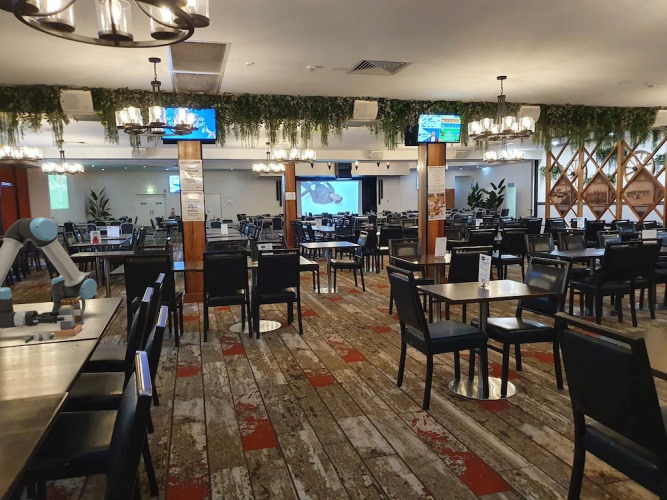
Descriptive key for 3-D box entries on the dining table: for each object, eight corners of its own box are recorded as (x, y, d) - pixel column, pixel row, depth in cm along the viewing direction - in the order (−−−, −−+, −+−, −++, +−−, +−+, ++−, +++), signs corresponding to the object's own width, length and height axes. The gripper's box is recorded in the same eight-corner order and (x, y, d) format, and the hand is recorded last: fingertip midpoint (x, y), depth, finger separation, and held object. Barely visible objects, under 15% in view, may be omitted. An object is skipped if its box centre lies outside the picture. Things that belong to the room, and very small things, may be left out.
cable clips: (38, 338, 233) (38, 333, 232) (51, 337, 233) (50, 332, 233) (34, 340, 228) (34, 335, 228) (47, 339, 229) (46, 334, 229)
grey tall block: (65, 331, 241) (62, 305, 239) (75, 330, 241) (73, 304, 240) (61, 333, 236) (58, 307, 234) (72, 333, 237) (69, 307, 235)
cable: (31, 338, 233) (31, 335, 232) (55, 336, 234) (55, 333, 234) (24, 343, 225) (24, 340, 225) (49, 341, 227) (48, 338, 227)
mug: (74, 330, 249) (71, 301, 247) (56, 329, 251) (53, 301, 250) (94, 322, 264) (92, 295, 263) (78, 321, 267) (75, 295, 265)
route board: (34, 334, 245) (34, 331, 244) (85, 330, 248) (84, 327, 248) (17, 345, 227) (17, 342, 227) (72, 340, 231) (72, 338, 231)
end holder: (63, 331, 243) (62, 325, 243) (82, 330, 244) (81, 324, 244) (55, 337, 233) (54, 331, 233) (75, 335, 235) (74, 329, 234)
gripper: (38, 320, 246) (84, 316, 250) (16, 332, 224) (68, 328, 228) (36, 305, 246) (83, 302, 249) (15, 317, 223) (66, 313, 227)
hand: (76, 315), depth 238 cm, fingers open, 10 cm apart
